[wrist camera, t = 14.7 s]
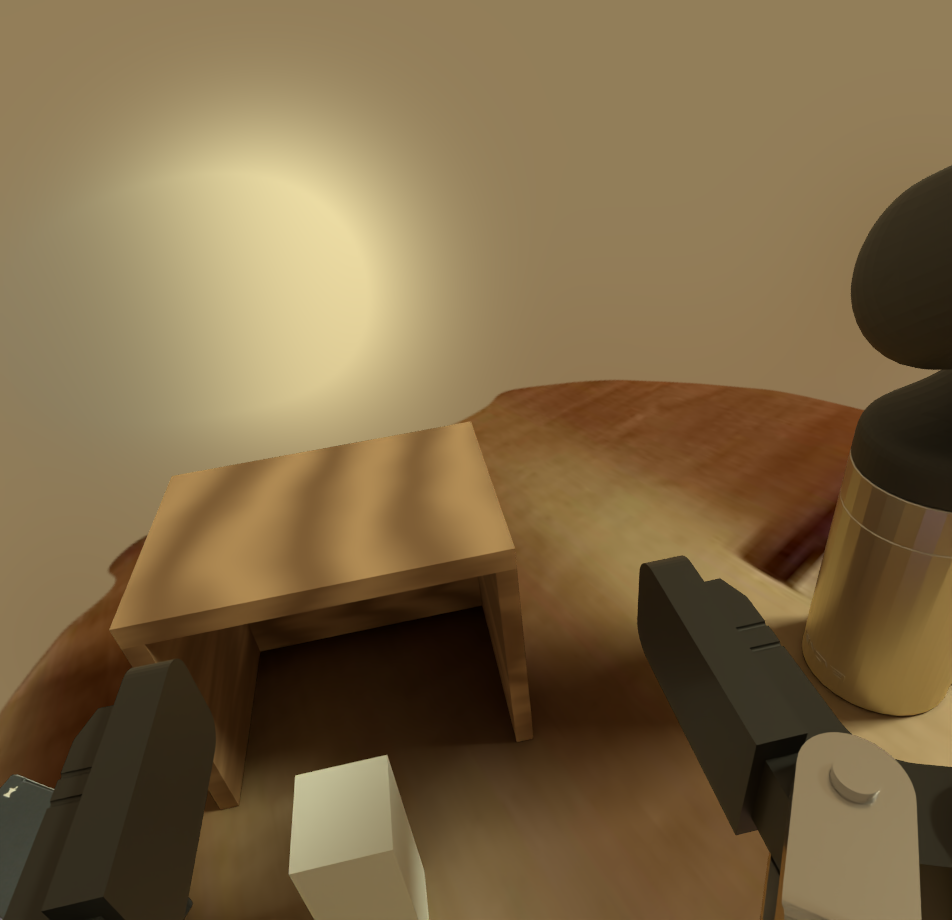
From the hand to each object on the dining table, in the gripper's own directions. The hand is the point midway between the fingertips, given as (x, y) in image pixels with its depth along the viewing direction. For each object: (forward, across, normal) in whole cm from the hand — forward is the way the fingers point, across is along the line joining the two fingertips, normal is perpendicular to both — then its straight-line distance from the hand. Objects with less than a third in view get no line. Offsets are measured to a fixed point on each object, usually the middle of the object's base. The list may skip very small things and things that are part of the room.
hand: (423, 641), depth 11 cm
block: (+9, +6, +32) cm, 34 cm away
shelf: (+25, +6, +32) cm, 41 cm away
